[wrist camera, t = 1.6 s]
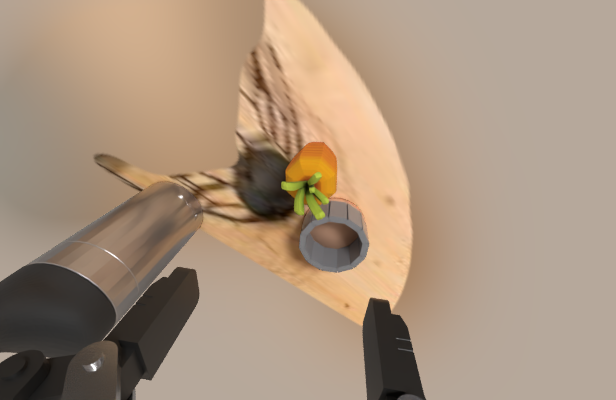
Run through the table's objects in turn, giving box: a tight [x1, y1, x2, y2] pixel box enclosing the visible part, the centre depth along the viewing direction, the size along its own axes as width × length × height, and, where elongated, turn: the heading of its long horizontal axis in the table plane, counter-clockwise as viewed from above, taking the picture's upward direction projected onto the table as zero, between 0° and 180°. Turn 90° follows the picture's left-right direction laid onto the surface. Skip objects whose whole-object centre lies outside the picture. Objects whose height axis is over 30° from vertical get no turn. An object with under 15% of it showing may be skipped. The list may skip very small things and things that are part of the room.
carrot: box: [281, 142, 337, 220], centre depth 26 cm, size 5×5×15 cm
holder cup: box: [299, 198, 369, 273], centre depth 35 cm, size 9×9×5 cm
